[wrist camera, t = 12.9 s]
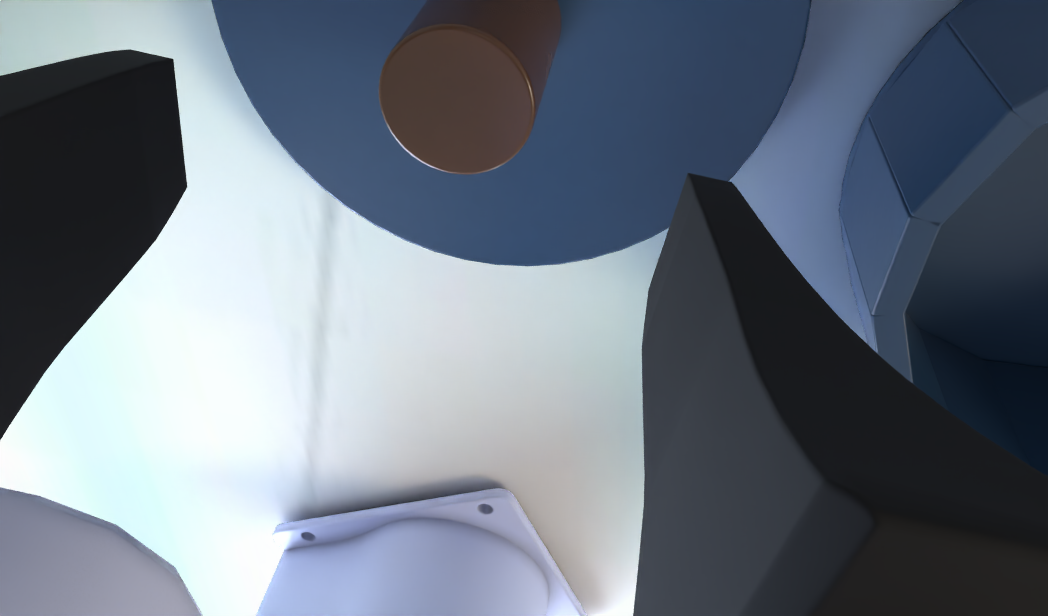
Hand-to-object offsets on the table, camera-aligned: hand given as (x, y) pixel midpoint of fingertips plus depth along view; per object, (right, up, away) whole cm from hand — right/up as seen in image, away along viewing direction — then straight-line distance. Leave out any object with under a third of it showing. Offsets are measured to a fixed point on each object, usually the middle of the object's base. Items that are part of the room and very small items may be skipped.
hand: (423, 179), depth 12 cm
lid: (+1, +4, +5) cm, 7 cm away
